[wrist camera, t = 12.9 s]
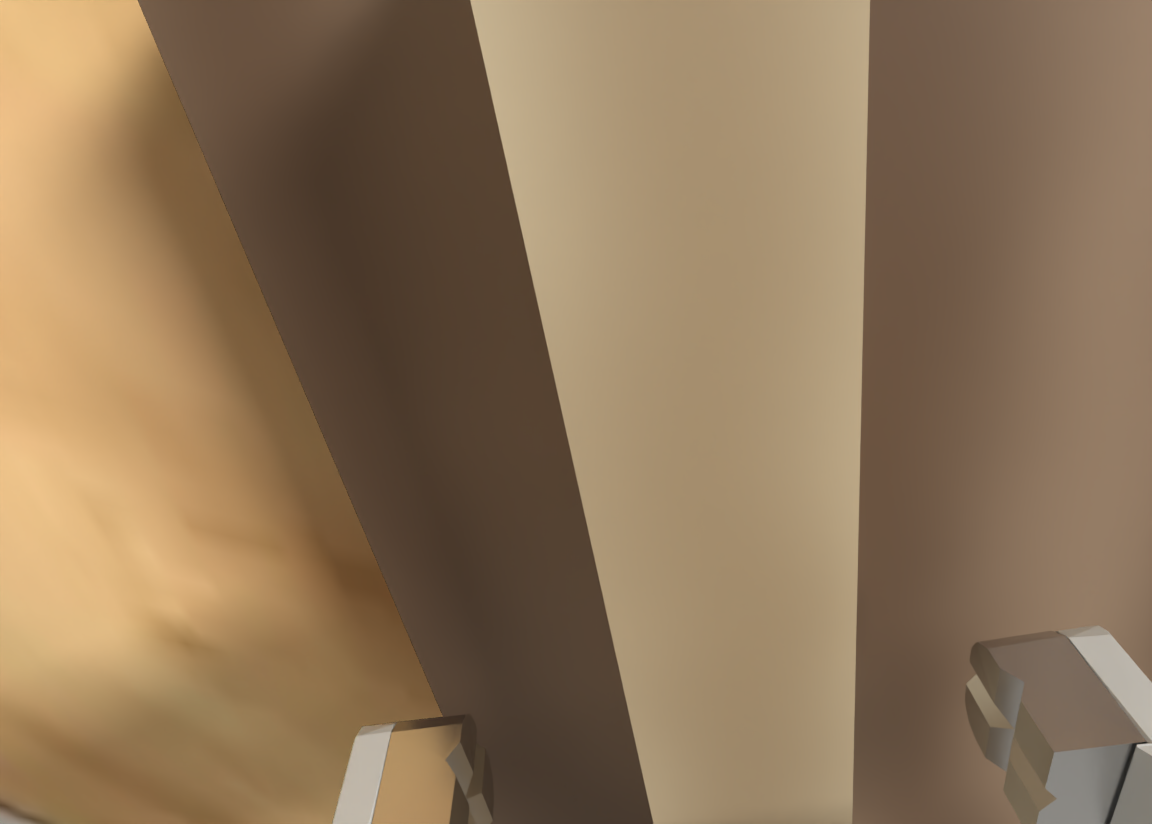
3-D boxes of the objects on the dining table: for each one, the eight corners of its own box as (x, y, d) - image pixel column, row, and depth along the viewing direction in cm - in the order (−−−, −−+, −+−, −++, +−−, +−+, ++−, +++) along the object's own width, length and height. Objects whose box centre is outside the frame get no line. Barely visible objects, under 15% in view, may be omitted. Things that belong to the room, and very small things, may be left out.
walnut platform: (538, 717, 23) (533, 928, 18) (267, -124, 12) (55, -192, 7) (1059, 646, 22) (1211, 851, 17) (1286, -355, 11) (1924, -642, 6)
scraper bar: (686, 891, 17) (718, 1115, 14) (482, -146, 7) (414, -249, 4) (788, 879, 17) (846, 1103, 14) (723, -200, 7) (877, -359, 4)
